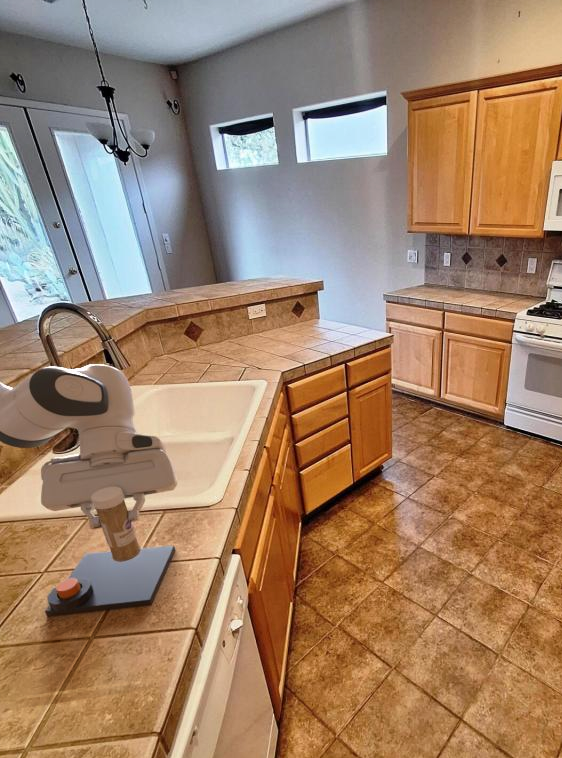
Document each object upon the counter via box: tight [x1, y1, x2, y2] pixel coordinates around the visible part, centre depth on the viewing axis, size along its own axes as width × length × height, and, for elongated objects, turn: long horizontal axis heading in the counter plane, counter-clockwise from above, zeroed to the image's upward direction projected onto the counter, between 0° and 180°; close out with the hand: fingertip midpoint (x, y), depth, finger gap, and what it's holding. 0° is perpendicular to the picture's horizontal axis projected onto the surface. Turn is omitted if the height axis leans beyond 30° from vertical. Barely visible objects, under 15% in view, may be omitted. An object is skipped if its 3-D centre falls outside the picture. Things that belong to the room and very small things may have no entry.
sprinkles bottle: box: [91, 486, 141, 562], centre depth 75 cm, size 5×5×14 cm
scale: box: [44, 545, 177, 618], centre depth 77 cm, size 16×14×3 cm
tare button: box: [55, 577, 81, 599], centre depth 72 cm, size 3×3×2 cm
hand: (115, 524), depth 74 cm, fingers closed on sprinkles bottle, 4 cm apart
